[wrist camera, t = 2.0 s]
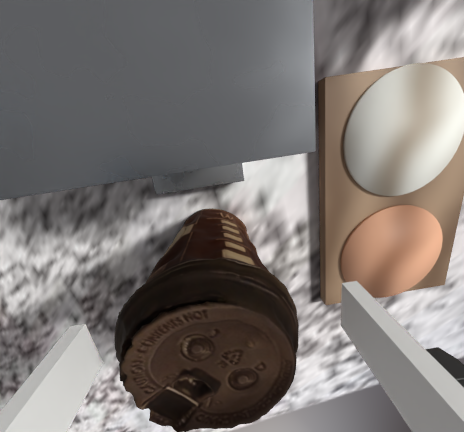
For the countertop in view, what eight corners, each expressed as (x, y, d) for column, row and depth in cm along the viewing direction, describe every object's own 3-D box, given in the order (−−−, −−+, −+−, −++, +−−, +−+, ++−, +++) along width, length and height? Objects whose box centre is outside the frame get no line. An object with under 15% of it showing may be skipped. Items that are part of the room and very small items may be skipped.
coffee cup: (174, 281, 22) (123, 457, 10) (157, 202, 19) (58, 307, 7) (259, 271, 22) (314, 428, 10) (255, 192, 20) (322, 275, 7)
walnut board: (320, 297, 24) (327, 307, 23) (318, 81, 17) (327, 76, 16) (433, 278, 24) (447, 286, 23) (475, 58, 17) (498, 51, 16)
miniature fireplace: (150, 191, 19) (36, 276, 7) (124, 94, 16) (-127, -38, 4) (252, 175, 19) (316, 231, 7) (241, 78, 17) (311, -93, 5)
